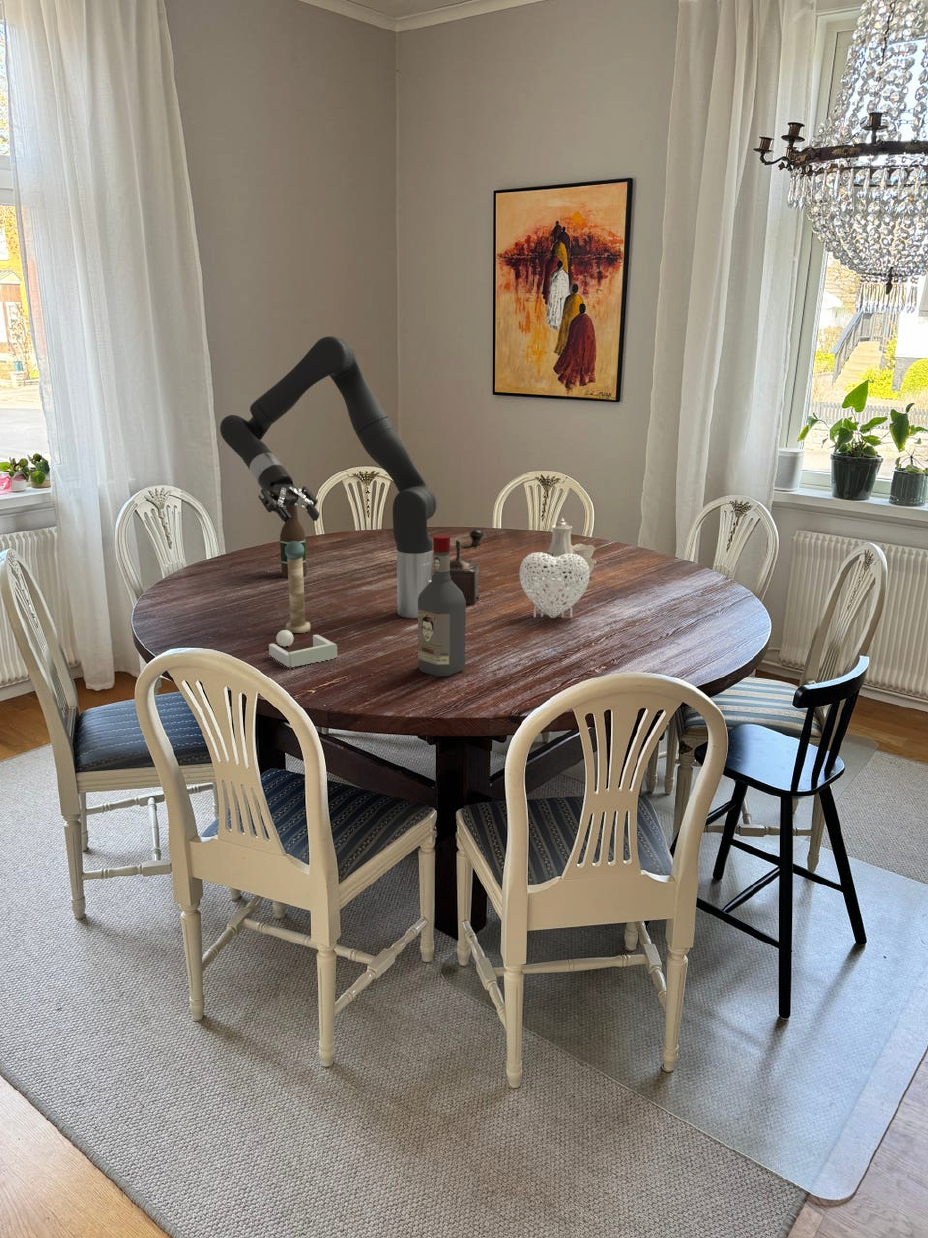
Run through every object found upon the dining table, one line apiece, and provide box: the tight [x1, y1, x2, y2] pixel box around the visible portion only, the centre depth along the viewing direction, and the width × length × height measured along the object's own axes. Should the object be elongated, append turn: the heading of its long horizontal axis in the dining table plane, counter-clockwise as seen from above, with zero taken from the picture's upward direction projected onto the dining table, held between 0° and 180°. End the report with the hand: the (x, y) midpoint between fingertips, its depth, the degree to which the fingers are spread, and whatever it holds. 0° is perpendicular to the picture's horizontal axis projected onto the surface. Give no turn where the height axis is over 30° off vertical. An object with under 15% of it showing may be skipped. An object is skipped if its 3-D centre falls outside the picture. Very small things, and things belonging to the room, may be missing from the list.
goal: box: [268, 634, 338, 667], centre depth 213 cm, size 10×12×4 cm
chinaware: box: [542, 517, 598, 579], centre depth 289 cm, size 28×17×17 cm, turn 179°
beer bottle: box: [279, 505, 307, 579], centre depth 278 cm, size 8×8×24 cm
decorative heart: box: [518, 551, 591, 619], centre depth 242 cm, size 18×11×17 cm, turn 83°
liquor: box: [417, 534, 467, 678], centre depth 203 cm, size 9×9×30 cm
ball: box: [275, 629, 294, 648], centre depth 220 cm, size 4×4×4 cm
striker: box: [285, 541, 311, 634], centre depth 229 cm, size 6×6×23 cm
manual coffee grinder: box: [450, 529, 484, 606], centre depth 259 cm, size 16×11×18 cm
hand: (303, 519), depth 228 cm, fingers open, 8 cm apart
